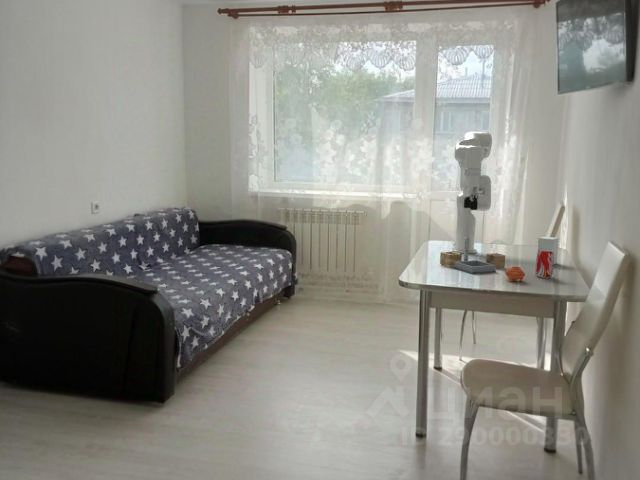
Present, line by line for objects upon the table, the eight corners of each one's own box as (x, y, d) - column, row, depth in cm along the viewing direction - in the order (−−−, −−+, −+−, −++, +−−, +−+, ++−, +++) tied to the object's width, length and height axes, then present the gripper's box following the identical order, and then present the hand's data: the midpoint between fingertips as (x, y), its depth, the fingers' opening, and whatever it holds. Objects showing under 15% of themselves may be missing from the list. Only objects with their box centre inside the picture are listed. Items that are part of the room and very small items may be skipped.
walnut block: (485, 266, 277) (486, 253, 276) (495, 265, 279) (496, 253, 278) (494, 268, 271) (495, 256, 271) (504, 268, 274) (505, 255, 273)
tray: (454, 268, 271) (454, 261, 270) (476, 266, 276) (477, 260, 275) (472, 273, 259) (472, 267, 258) (495, 271, 264) (496, 265, 264)
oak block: (439, 264, 279) (440, 252, 278) (451, 263, 282) (452, 251, 281) (448, 267, 272) (449, 254, 271) (461, 266, 275) (461, 253, 274)
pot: (500, 278, 251) (504, 262, 250) (517, 282, 251) (521, 267, 251) (507, 281, 243) (512, 266, 242) (525, 286, 243) (530, 270, 243)
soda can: (544, 279, 252) (546, 251, 250) (531, 275, 258) (533, 248, 256) (555, 277, 255) (558, 250, 253) (542, 274, 261) (545, 247, 259)
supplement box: (557, 263, 287) (559, 237, 285) (551, 265, 282) (553, 239, 280) (542, 261, 292) (544, 236, 290) (536, 263, 287) (538, 237, 285)
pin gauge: (462, 261, 286) (463, 237, 284) (466, 261, 287) (467, 237, 285) (465, 262, 284) (466, 238, 282) (469, 262, 285) (470, 237, 283)
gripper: (459, 172, 286) (457, 207, 288) (470, 172, 268) (468, 210, 271) (474, 172, 286) (472, 207, 288) (486, 173, 269) (484, 210, 271)
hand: (470, 208), depth 280 cm, fingers open, 9 cm apart
